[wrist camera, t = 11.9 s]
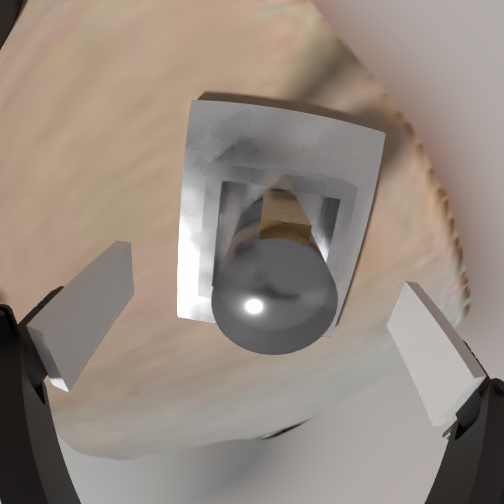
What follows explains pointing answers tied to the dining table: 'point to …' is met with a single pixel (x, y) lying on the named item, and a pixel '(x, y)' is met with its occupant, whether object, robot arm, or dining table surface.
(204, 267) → the collar
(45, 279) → the dining table surface
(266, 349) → the grey rounded cylinder
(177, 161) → the dining table surface
